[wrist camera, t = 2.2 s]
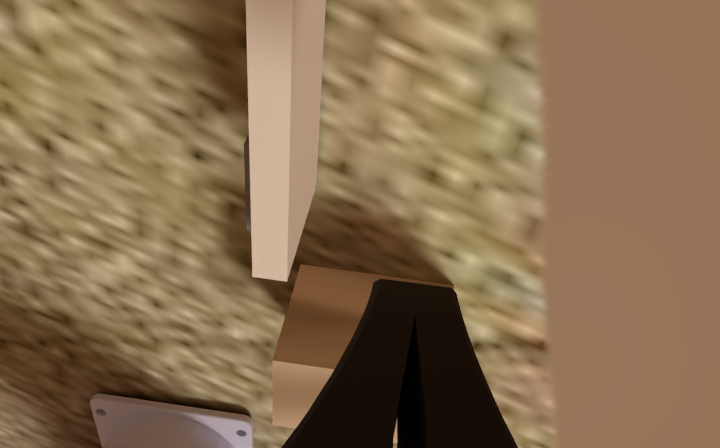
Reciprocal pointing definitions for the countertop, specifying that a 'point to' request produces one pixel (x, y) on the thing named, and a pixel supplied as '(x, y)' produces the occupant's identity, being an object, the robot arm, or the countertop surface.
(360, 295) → the block
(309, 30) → the door
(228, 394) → the countertop surface
